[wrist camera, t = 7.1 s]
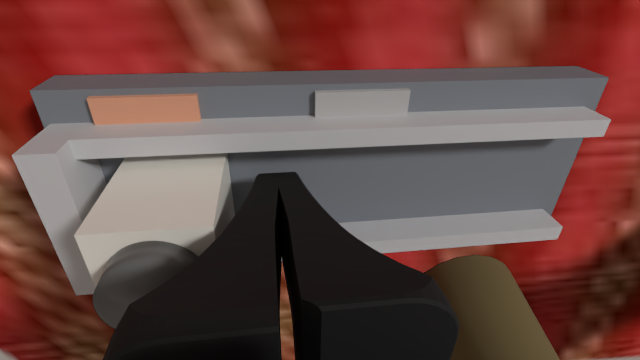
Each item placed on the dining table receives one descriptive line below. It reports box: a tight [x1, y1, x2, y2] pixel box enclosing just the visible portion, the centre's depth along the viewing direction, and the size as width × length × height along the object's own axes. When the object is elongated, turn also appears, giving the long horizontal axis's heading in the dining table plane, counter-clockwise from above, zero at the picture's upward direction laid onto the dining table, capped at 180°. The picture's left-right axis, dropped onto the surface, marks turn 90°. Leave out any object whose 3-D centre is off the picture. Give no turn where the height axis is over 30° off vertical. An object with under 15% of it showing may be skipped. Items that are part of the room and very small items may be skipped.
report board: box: [12, 66, 611, 295], centre depth 13 cm, size 18×7×4 cm, turn 89°
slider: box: [74, 153, 235, 329], centre depth 11 cm, size 3×3×5 cm
